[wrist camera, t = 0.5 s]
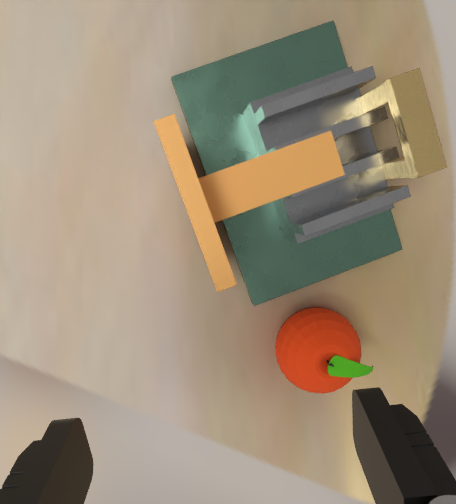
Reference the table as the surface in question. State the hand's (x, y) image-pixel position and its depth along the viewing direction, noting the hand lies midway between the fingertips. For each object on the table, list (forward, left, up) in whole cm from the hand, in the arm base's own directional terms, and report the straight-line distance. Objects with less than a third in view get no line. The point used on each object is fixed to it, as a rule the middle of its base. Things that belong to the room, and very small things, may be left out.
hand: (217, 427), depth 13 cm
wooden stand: (-6, +7, -24) cm, 25 cm away
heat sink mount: (-6, +11, -25) cm, 28 cm away
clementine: (+9, +8, -25) cm, 28 cm away
